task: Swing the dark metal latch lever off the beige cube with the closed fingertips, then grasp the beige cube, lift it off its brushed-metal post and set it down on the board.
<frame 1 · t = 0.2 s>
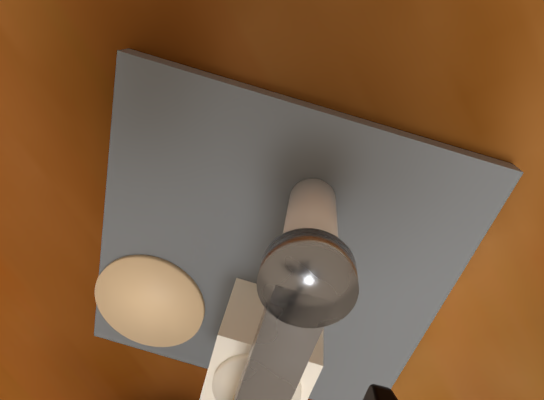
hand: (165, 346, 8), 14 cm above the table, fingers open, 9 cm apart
latch: (276, 358, 16), point 8 cm above the table, hinge at 0.0°
board: (272, 257, 24), on the table
beige cube: (268, 323, 24), point 1 cm above the table, touching board
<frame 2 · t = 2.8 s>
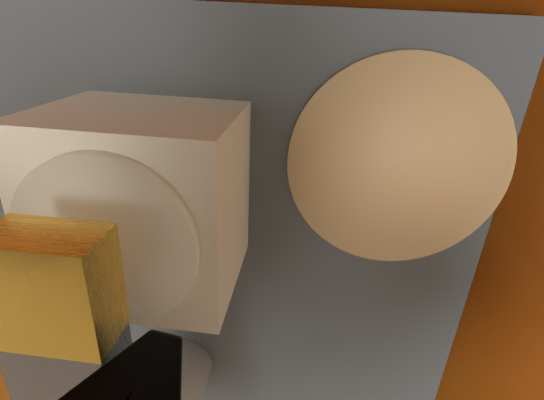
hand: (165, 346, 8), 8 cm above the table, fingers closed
board: (212, 253, 17), on the table
beige cube: (173, 173, 14), point 1 cm above the table, touching board
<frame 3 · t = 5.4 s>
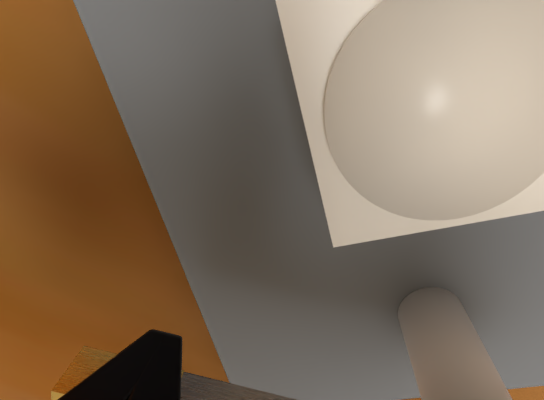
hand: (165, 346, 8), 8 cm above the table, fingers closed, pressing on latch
board: (434, 178, 14), on the table
beige cube: (397, 78, 12), point 1 cm above the table, touching board
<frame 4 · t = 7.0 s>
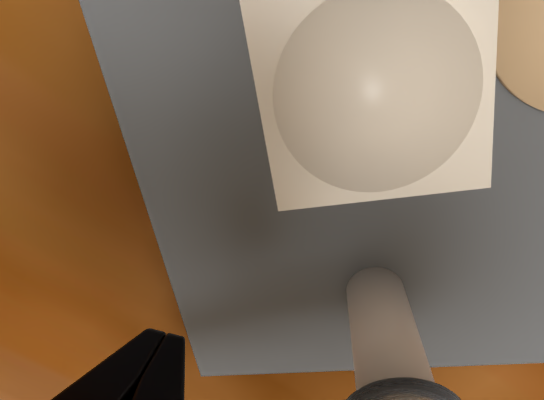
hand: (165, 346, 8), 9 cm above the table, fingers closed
board: (387, 169, 16), on the table
beige cube: (355, 74, 13), point 1 cm above the table, touching board
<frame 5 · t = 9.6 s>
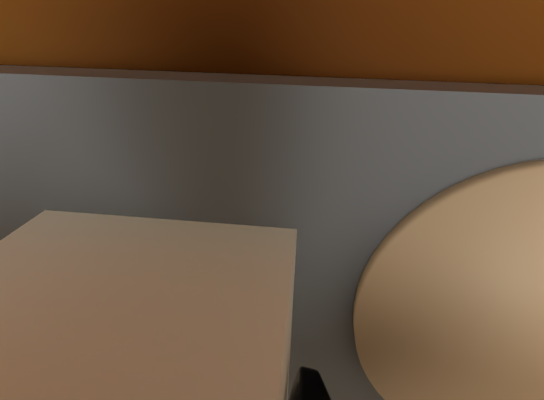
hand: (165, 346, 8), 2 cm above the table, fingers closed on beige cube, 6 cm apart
board: (233, 398, 12), on the table
beige cube: (177, 320, 9), point 1 cm above the table, touching board, gripper
when the fingers open (4 cm above the table, at t = 13.6 s): beige cube drops 1 cm, resting on board.
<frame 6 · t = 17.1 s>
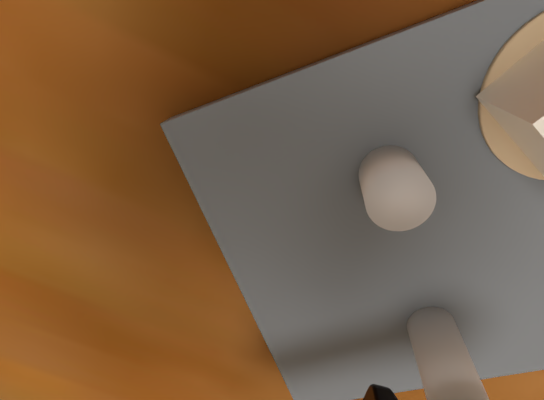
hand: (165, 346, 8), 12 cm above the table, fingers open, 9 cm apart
board: (423, 229, 20), on the table
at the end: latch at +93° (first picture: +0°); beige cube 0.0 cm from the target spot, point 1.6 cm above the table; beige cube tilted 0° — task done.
